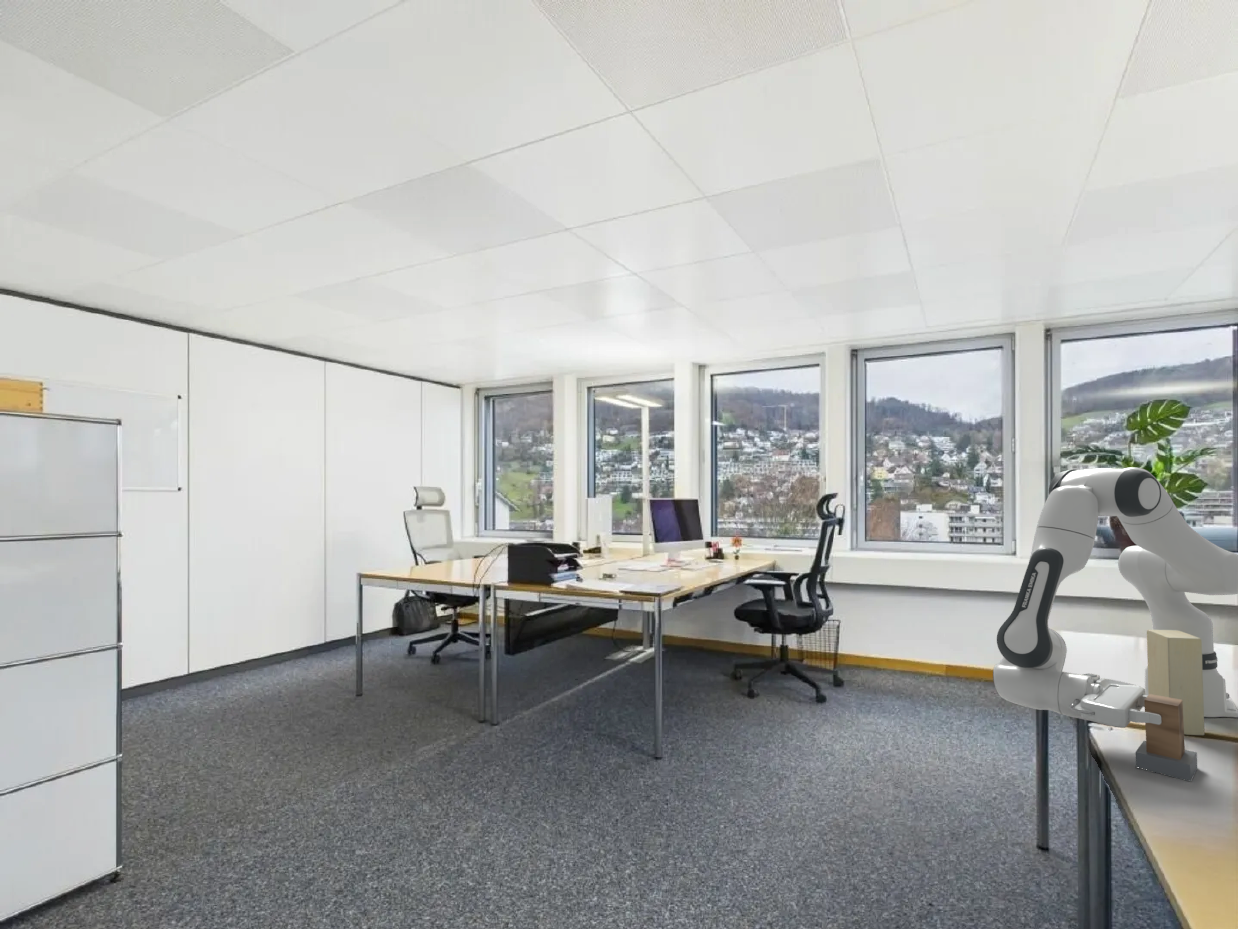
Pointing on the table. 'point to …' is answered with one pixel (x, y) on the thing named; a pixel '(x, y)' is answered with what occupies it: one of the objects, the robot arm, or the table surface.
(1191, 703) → the tall pale wood block
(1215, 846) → the table surface
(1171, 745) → the walnut brick
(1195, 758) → the base brick
